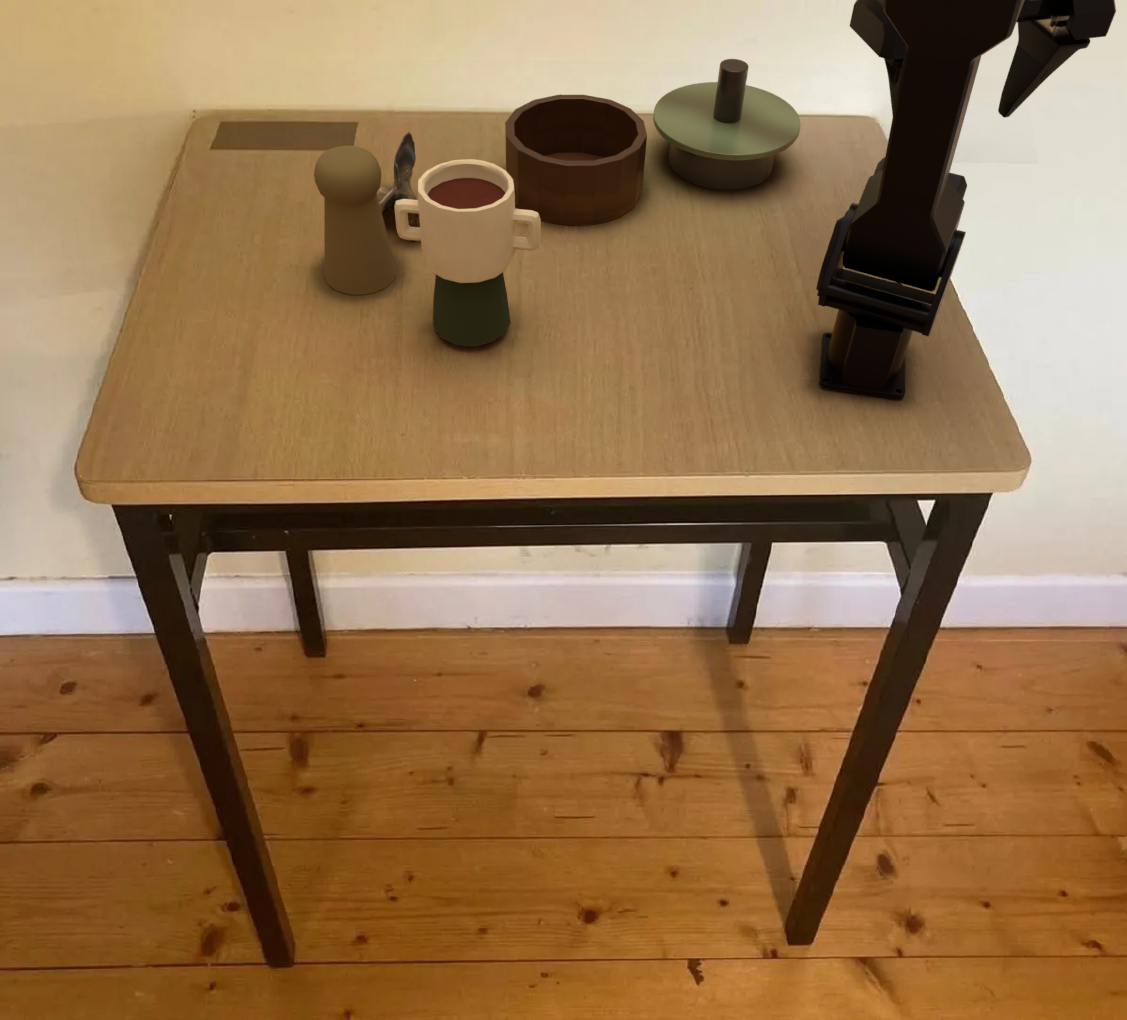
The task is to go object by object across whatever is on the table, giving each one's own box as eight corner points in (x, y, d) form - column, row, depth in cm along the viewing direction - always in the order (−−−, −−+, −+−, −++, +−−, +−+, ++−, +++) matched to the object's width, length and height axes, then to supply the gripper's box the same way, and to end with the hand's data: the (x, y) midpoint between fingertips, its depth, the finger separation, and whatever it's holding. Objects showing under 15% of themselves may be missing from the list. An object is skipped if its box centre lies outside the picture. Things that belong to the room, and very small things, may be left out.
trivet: (768, 195, 105) (774, 161, 102) (662, 182, 106) (666, 148, 103) (775, 142, 111) (781, 109, 109) (676, 130, 112) (679, 97, 110)
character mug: (544, 307, 92) (547, 164, 83) (533, 362, 87) (534, 218, 78) (414, 295, 93) (402, 152, 83) (395, 349, 88) (380, 204, 78)
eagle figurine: (472, 216, 99) (431, 152, 103) (433, 172, 93) (390, 106, 96) (405, 268, 100) (367, 203, 104) (362, 229, 94) (323, 161, 98)
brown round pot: (648, 224, 101) (653, 164, 96) (508, 226, 100) (507, 166, 96) (633, 152, 109) (637, 93, 105) (504, 153, 108) (503, 94, 104)
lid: (775, 180, 100) (787, 115, 95) (631, 145, 103) (636, 81, 99) (814, 112, 108) (827, 49, 104) (680, 82, 112) (687, 20, 107)
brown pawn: (402, 255, 96) (391, 138, 88) (388, 297, 92) (375, 178, 84) (334, 250, 97) (316, 132, 89) (316, 291, 93) (296, 172, 85)
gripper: (1069, -139, 84) (1003, 62, 96) (841, -122, 80) (801, 85, 92) (1158, -83, 77) (1076, 127, 88) (912, -62, 73) (860, 154, 85)
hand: (951, 121), depth 89 cm, fingers open, 9 cm apart
